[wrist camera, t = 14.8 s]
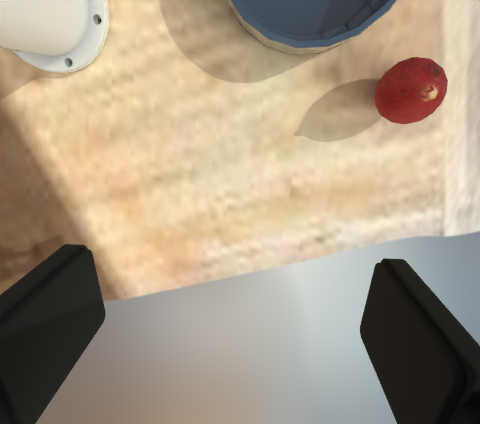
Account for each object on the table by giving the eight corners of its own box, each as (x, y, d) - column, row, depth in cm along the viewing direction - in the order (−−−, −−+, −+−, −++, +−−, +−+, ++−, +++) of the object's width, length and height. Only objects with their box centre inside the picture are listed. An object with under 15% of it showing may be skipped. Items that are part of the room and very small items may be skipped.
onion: (390, 49, 29) (435, 35, 21) (432, 81, 30) (490, 77, 22) (353, 102, 31) (382, 105, 24) (393, 129, 32) (434, 141, 24)
